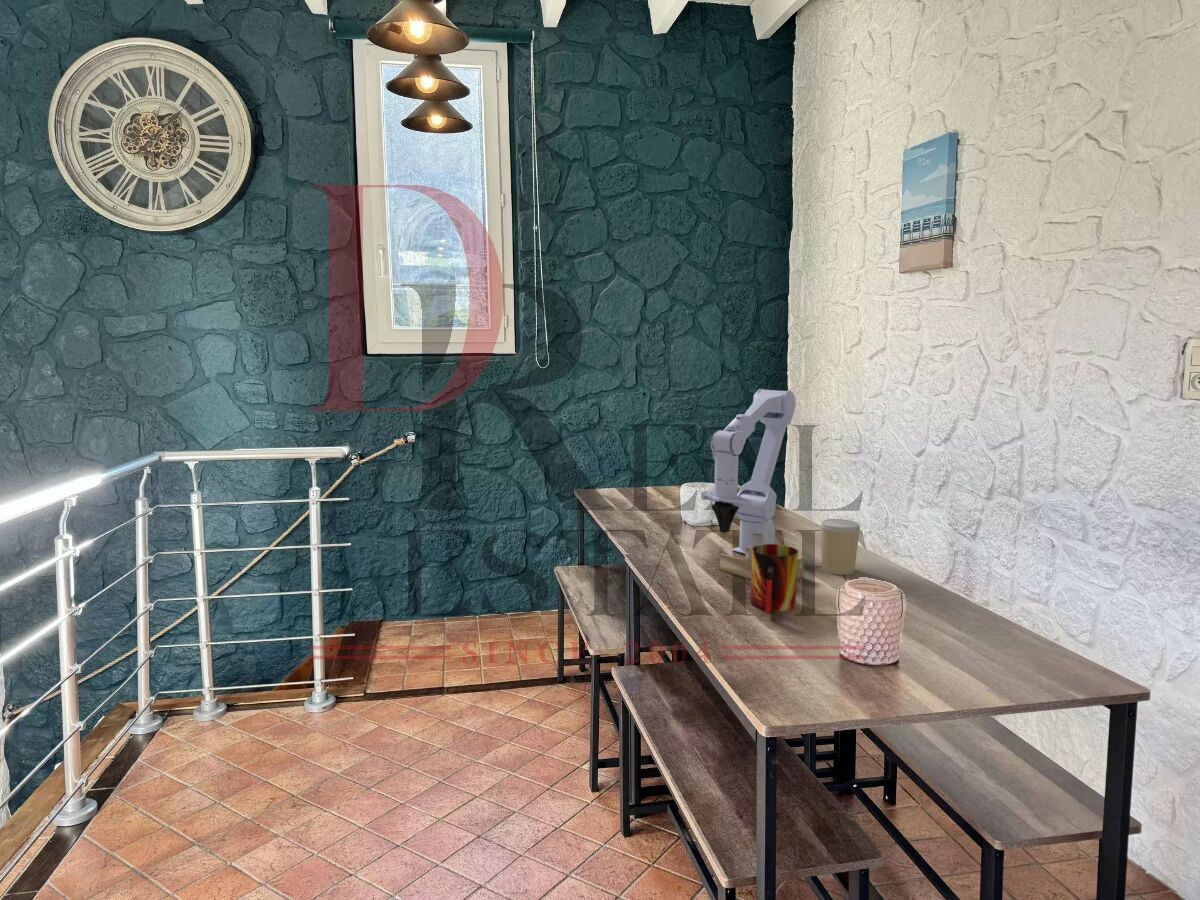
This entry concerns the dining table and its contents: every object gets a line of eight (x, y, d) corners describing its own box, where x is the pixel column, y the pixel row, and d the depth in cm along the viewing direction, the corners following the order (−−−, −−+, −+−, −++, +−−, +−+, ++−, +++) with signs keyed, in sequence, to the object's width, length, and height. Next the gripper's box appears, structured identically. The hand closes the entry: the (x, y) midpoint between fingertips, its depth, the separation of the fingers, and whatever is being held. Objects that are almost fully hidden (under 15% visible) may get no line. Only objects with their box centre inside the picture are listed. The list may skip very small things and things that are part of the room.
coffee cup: (860, 567, 201) (862, 520, 199) (854, 578, 193) (857, 529, 191) (821, 562, 205) (824, 516, 203) (815, 572, 197) (817, 525, 195)
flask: (766, 580, 191) (767, 539, 189) (737, 575, 194) (738, 535, 193) (775, 572, 197) (777, 532, 195) (747, 567, 201) (748, 528, 199)
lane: (747, 561, 206) (747, 542, 205) (803, 577, 193) (804, 557, 192) (719, 569, 199) (720, 550, 198) (776, 586, 186) (777, 565, 185)
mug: (765, 619, 165) (768, 563, 163) (744, 597, 179) (746, 544, 177) (810, 617, 167) (813, 561, 165) (785, 595, 180) (787, 543, 178)
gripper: (693, 476, 203) (692, 528, 205) (738, 485, 192) (737, 540, 194) (712, 473, 208) (710, 524, 210) (757, 481, 197) (755, 535, 199)
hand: (724, 531), depth 202 cm, fingers closed
